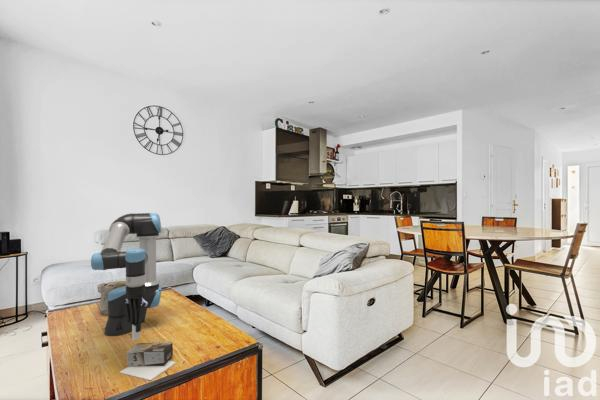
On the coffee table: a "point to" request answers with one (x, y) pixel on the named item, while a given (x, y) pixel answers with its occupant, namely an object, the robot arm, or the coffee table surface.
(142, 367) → the mat
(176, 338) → the coffee table surface
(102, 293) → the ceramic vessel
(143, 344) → the coffee box
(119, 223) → the robot arm
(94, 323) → the coffee table surface
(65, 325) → the coffee table surface
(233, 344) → the coffee table surface
